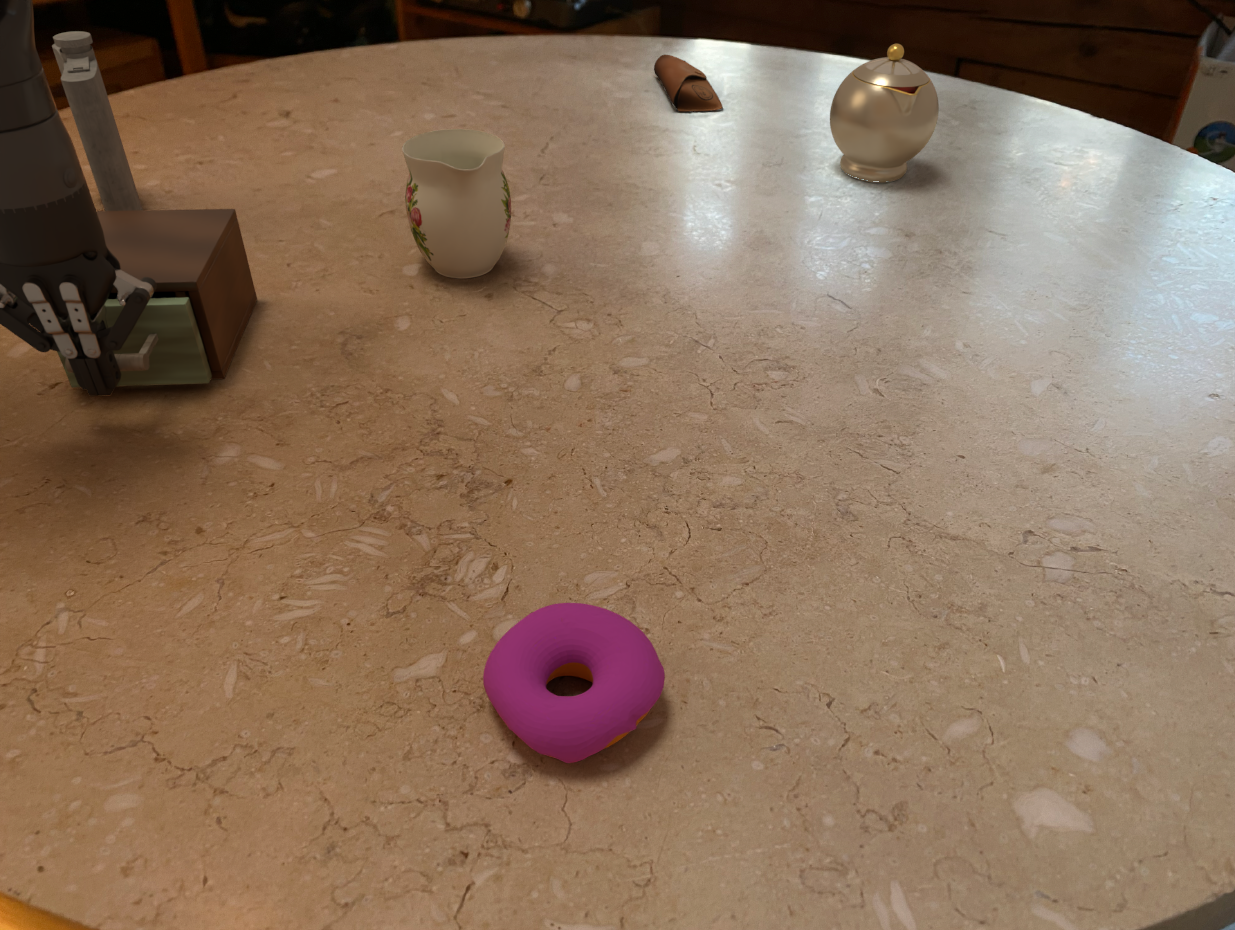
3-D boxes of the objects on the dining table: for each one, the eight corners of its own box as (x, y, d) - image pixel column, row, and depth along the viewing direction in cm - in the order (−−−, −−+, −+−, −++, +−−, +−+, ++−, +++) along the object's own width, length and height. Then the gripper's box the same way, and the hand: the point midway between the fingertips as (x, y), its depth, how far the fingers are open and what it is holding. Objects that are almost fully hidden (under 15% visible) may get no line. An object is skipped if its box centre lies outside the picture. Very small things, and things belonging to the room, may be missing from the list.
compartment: (195, 414, 79) (169, 333, 74) (51, 419, 78) (15, 337, 73) (242, 306, 93) (223, 232, 88) (121, 309, 92) (94, 235, 87)
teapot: (941, 192, 122) (974, 60, 112) (841, 196, 120) (865, 62, 110) (891, 142, 136) (916, 21, 126) (800, 145, 134) (818, 22, 124)
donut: (462, 681, 59) (456, 633, 56) (595, 613, 64) (595, 565, 61) (550, 803, 53) (548, 756, 50) (690, 717, 58) (696, 669, 55)
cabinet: (224, 379, 85) (196, 281, 79) (76, 383, 84) (36, 285, 78) (257, 298, 96) (235, 208, 90) (128, 302, 95) (96, 210, 89)
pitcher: (492, 221, 112) (484, 104, 103) (531, 291, 99) (526, 163, 90) (399, 232, 109) (383, 113, 101) (427, 306, 96) (412, 175, 87)
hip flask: (101, 192, 116) (42, 18, 103) (136, 186, 118) (83, 14, 105) (115, 244, 105) (52, 56, 93) (154, 237, 107) (97, 52, 94)
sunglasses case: (727, 107, 144) (708, 69, 140) (687, 132, 146) (667, 95, 142) (702, 72, 158) (684, 36, 154) (665, 95, 160) (647, 60, 156)
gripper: (140, 161, 68) (201, 363, 79) (-52, 162, 67) (36, 367, 78) (105, 204, 62) (175, 415, 73) (-106, 206, 61) (-2, 420, 72)
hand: (103, 390), depth 76 cm, fingers closed
